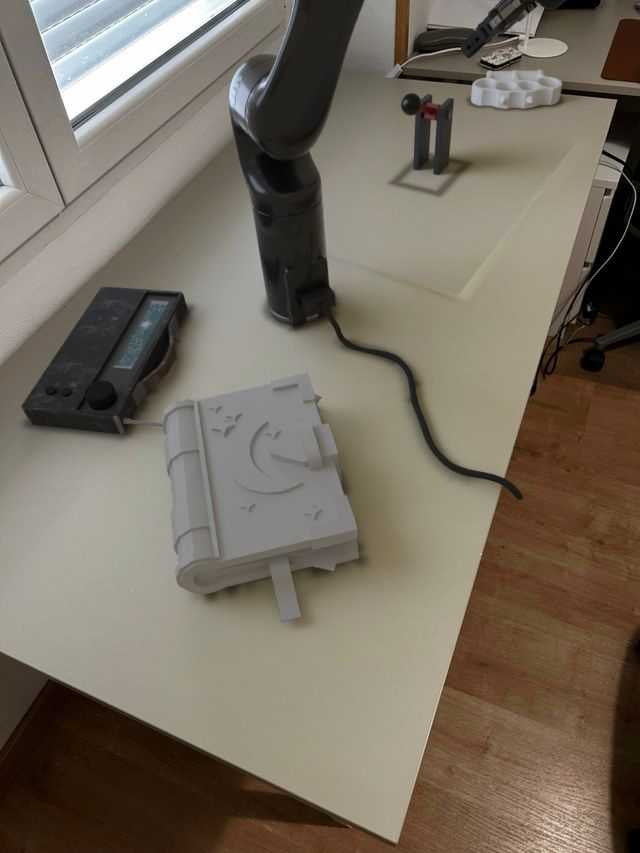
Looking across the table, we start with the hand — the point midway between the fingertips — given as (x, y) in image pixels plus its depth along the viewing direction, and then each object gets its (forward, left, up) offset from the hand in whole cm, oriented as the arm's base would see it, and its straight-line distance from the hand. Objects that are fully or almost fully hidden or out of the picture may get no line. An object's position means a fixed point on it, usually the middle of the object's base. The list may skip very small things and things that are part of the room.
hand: (465, 51), depth 92 cm
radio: (-10, +59, -25) cm, 64 cm away
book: (-41, +53, -25) cm, 71 cm away
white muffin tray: (+29, -35, -25) cm, 52 cm away
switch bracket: (+12, -3, -24) cm, 27 cm away
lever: (+9, +1, -12) cm, 15 cm away
